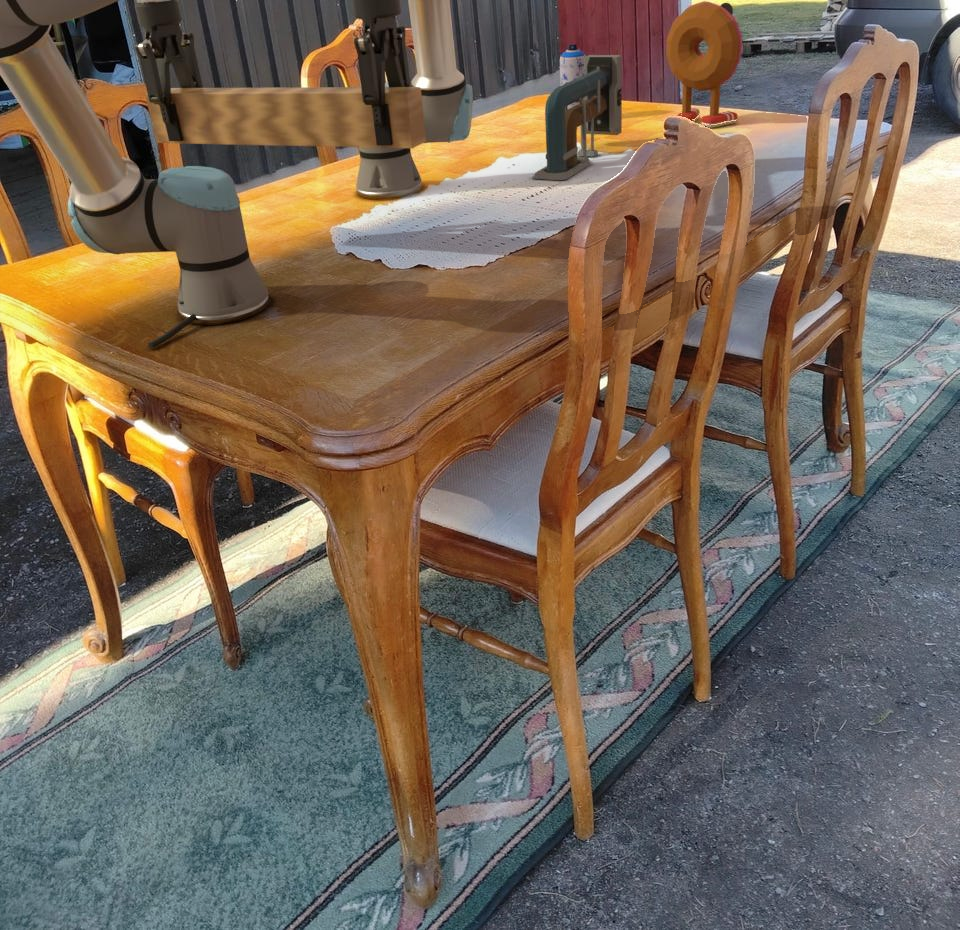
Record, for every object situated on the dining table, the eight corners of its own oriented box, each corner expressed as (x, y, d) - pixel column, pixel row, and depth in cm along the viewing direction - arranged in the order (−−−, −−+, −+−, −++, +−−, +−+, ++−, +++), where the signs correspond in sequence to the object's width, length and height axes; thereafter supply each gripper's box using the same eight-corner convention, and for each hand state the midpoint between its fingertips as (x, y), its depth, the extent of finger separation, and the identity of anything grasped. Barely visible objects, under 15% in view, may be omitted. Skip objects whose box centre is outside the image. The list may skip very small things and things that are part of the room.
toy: (748, 122, 257) (756, -2, 242) (728, 130, 251) (735, 3, 236) (679, 116, 271) (683, -2, 255) (659, 123, 264) (661, 3, 249)
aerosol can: (559, 122, 275) (557, 47, 265) (562, 117, 282) (559, 42, 272) (587, 121, 274) (585, 45, 263) (589, 115, 280) (587, 41, 270)
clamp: (565, 180, 221) (562, 81, 210) (530, 178, 225) (526, 81, 214) (621, 144, 247) (621, 55, 236) (589, 143, 251) (588, 55, 240)
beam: (156, 142, 181) (144, 93, 176) (174, 136, 185) (163, 88, 180) (412, 148, 161) (406, 92, 156) (426, 141, 165) (420, 86, 160)
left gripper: (138, 5, 160) (171, 149, 172) (205, -7, 174) (231, 126, 186) (103, 7, 163) (138, 148, 175) (171, -6, 177) (199, 126, 189)
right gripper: (368, -5, 144) (387, 154, 156) (421, -18, 158) (435, 128, 170) (325, -3, 147) (347, 153, 159) (381, -16, 161) (397, 128, 173)
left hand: (186, 136), depth 181 cm, fingers closed on beam, 5 cm apart
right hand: (392, 140), depth 164 cm, fingers closed on beam, 5 cm apart
